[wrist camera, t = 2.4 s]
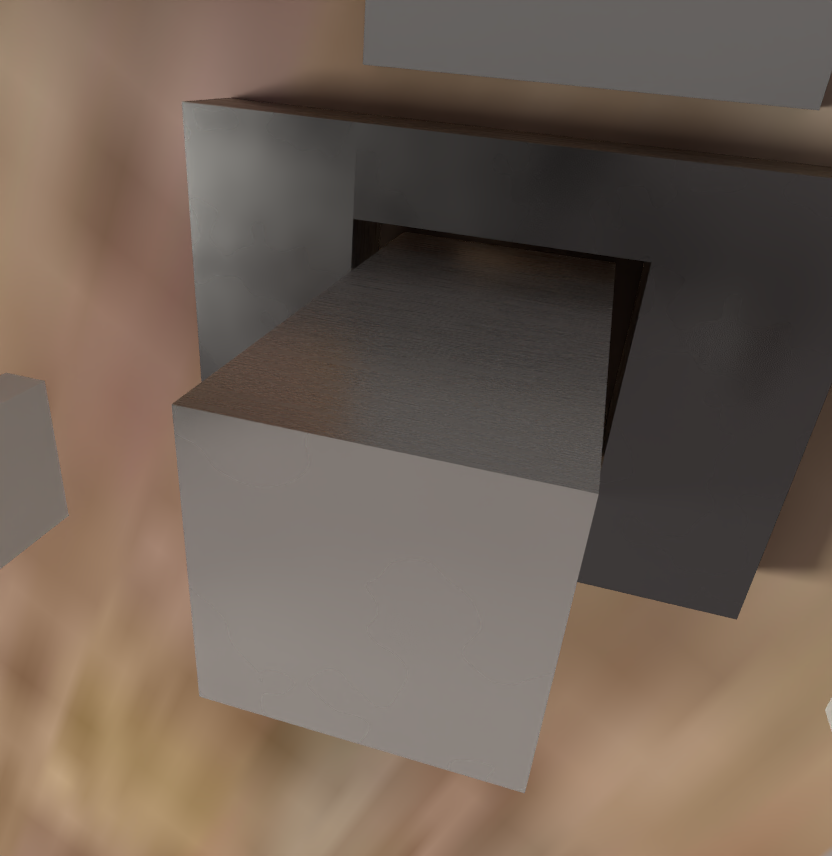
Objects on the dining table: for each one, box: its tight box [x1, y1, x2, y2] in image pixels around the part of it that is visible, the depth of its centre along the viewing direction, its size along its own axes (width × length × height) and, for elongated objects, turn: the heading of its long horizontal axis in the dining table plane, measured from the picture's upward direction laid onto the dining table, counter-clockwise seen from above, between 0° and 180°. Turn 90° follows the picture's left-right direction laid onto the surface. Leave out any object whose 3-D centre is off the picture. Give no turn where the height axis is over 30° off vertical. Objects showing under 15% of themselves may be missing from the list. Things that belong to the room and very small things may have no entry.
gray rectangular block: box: [172, 232, 616, 793], centre depth 13 cm, size 5×5×10 cm
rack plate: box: [182, 98, 832, 619], centre depth 17 cm, size 10×14×2 cm
